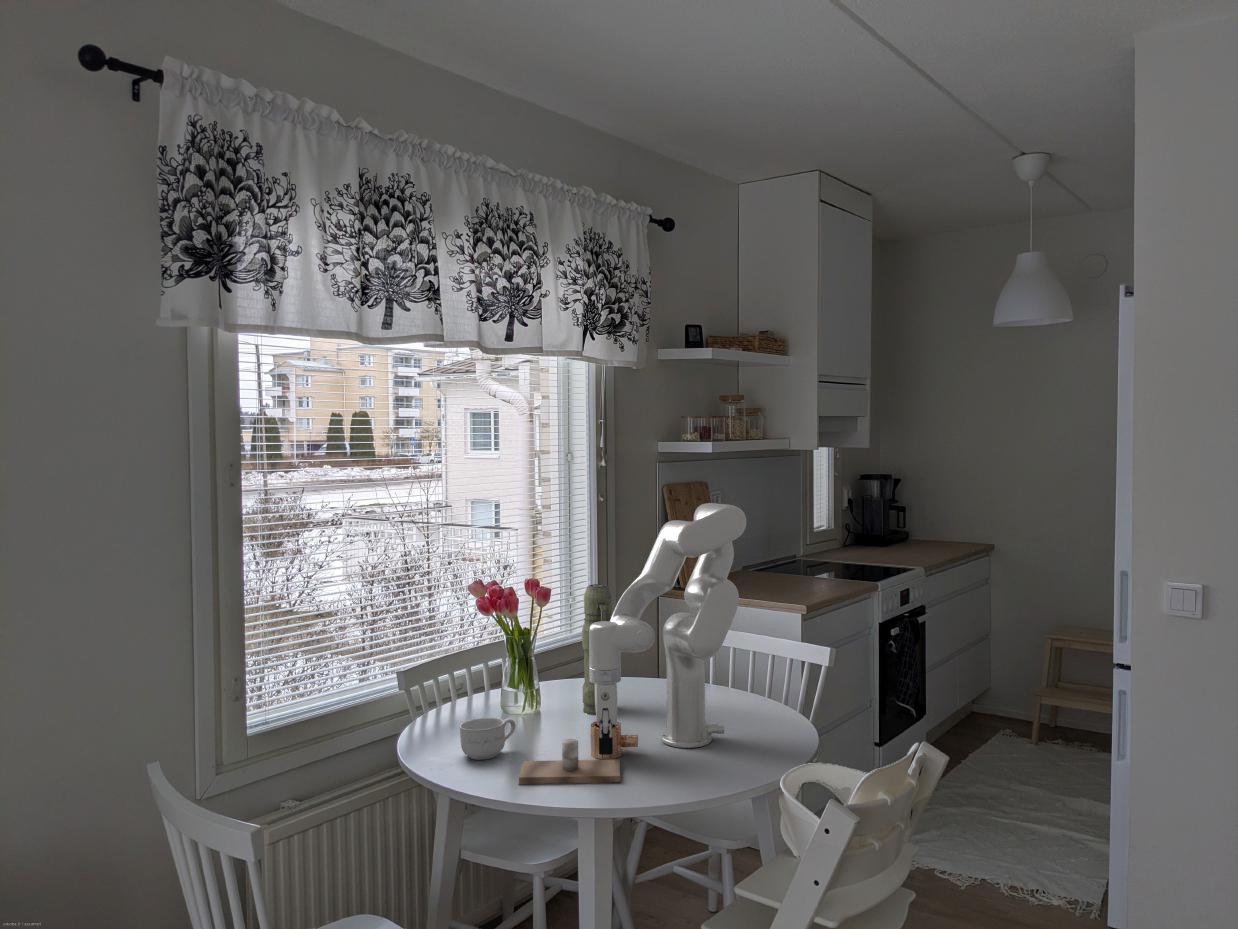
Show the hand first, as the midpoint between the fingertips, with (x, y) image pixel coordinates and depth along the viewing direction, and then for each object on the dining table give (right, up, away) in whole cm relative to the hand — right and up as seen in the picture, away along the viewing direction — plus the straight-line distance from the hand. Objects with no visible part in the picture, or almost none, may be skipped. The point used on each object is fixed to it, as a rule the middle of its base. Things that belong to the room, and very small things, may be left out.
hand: (605, 747), depth 206 cm
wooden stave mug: (+2, -1, 0) cm, 3 cm away
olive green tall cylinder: (-3, -1, +35) cm, 35 cm away
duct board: (-8, -2, -13) cm, 15 cm away
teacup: (-28, -2, +1) cm, 28 cm away
